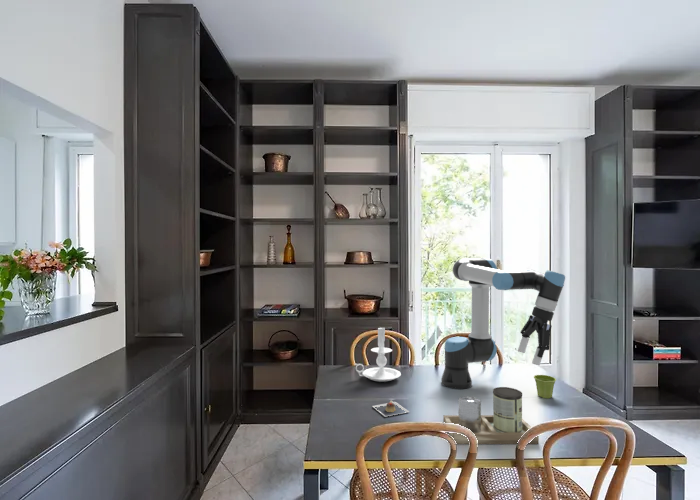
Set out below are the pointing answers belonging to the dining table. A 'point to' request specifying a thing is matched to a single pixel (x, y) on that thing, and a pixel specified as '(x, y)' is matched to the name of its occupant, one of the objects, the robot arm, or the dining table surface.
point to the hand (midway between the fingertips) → (528, 358)
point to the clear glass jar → (470, 413)
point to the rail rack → (489, 432)
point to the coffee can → (507, 409)
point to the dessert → (391, 408)
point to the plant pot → (544, 385)
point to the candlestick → (380, 363)
